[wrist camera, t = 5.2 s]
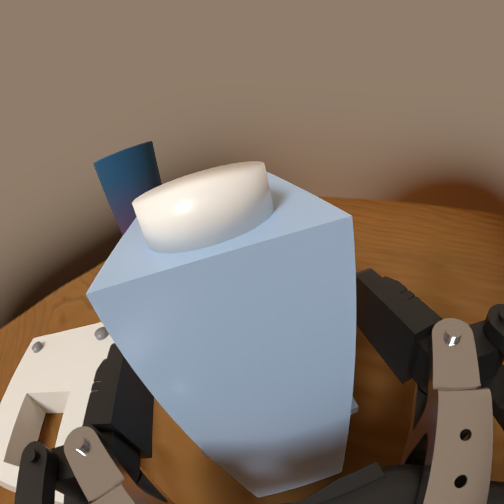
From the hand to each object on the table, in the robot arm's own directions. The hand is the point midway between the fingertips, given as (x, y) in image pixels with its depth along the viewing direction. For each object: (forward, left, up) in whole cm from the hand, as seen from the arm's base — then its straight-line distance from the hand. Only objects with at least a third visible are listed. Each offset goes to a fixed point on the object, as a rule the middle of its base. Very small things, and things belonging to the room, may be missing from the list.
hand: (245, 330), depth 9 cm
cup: (-8, -22, -7) cm, 25 cm away
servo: (+1, +1, -7) cm, 7 cm away
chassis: (+10, -12, -7) cm, 17 cm away
